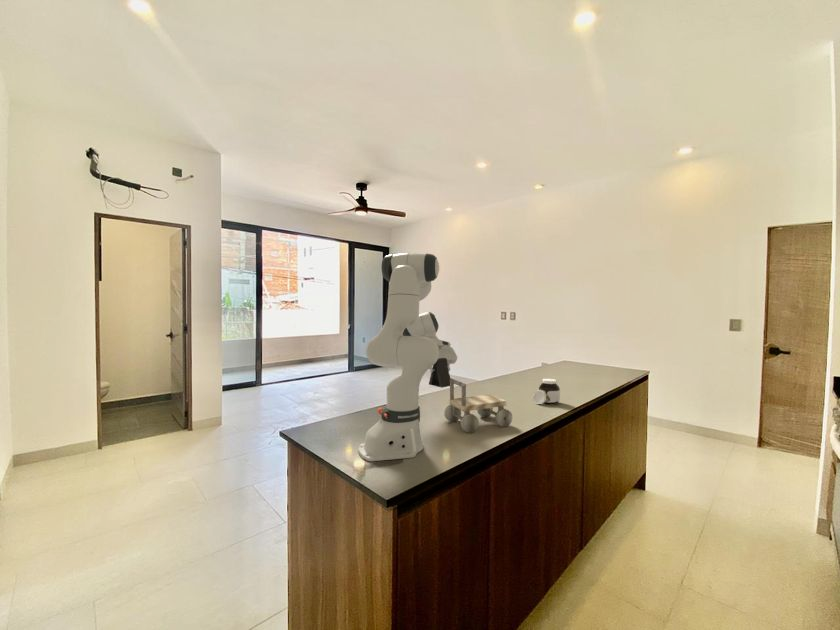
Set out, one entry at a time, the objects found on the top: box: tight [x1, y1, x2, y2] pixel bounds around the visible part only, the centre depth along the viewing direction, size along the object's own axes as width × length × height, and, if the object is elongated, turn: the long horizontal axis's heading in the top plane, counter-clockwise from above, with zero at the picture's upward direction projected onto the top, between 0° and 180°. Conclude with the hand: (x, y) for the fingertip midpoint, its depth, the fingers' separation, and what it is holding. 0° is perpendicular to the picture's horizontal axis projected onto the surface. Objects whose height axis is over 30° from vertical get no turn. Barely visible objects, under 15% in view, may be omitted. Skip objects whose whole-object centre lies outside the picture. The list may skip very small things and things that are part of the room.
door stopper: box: [428, 358, 451, 389], centre depth 161 cm, size 9×6×12 cm, turn 40°
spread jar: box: [532, 378, 561, 405], centre depth 179 cm, size 12×11×12 cm
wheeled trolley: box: [443, 377, 513, 434], centre depth 149 cm, size 23×16×19 cm
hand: (440, 371), depth 160 cm, fingers closed on door stopper, 6 cm apart
